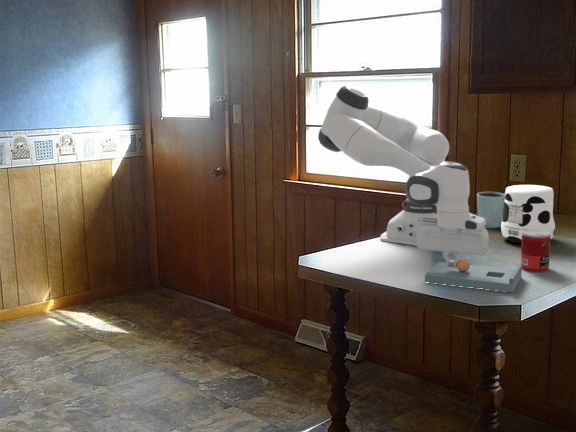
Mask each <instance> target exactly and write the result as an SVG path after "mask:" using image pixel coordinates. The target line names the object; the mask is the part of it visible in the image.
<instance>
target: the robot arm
mask: <svg viewBox="0 0 576 432" xmlns="http://www.w3.org/2000/svg"><path fill="white" fill-rule="evenodd" d="M335 95H336V96H335V97H334V99H333V100H332V102H331V104H330V105H329V107H328V109H327V111H326V114H325V116H324V117H325V118H324V120H323V122H322V125H321V127H320V129H319V132H318V134H317V135H318V136H317V137H318V141H319V143H320V145H321V146H322V147H324V148H325V149H327V150H328V151H331V152H333V153H334V152H335V153H339V152H343V154H345V155H346V156H348V157H349V158H350V159H351V160H353V161H354V162H357V163H358V164H360V165H363V166H366V167H389V168H393V169H394V168H395V169H397V170H399V171H401V172H403V173H405V175H407V176H408V179H407V181H406V182H405V185H404V191H405V195H406V199H405V200H404V201H403V202H402V206H401V207H403V208H402V210H401V211H399V212H398V213H397V214H396V215H394V216H393V217H392V218H391V219H390V220H389V221H388V223H387V228H386V231H384V232H383V233H381V234H380V241H383V242H388V243H394V244H395V243H396V244H403V245H408V246H409V245H410V246H416V247H417V249H419V250H423V251H424V250H425V251H432V252H433V251H435V252H442V256H443V258H444V260H445V262H446V266H447V267H455V268H456V267H457V263H458V261H459V259H460V258H461V257H462V254H467V255H478V256H485V255H487V253H489V251H490V238H489V237H490V236H489V232H488V230H487V229H488V228H485V227H484V226H485V224H486V220H485V219H484V218H482V217H479V216H478V215H476V214H474V213H471V212H470V206H469V198H470V197H469V196H470V175H469V174H470V173H469V170H468V168H467V166H465V165H464V164H462V163H459V162H457V161H448V160H447V161H446V158H447V156H448V154H449V152H450V143H449V141H448V139H447V137H446V136H445V135H444V134H443V133H442V132H440V131H438V130H436V129H431V128H428V127H425V126H422V125H419V124H418V123H415V122H413V121H411V120H408V119H406V118H404V117H403V116H401V115H397V114H396V113H393V112H391V111H389V110H385V109H383V108H381V107H378V106H377V105H372V104H369V97H368V94H367V93H365V91H364V90H362V89H361V88H360V87H357V86H355V85H349V84H347V85H343V86H341V87H340V88H339V90H338V91H337V93H336V94H335ZM450 253H454V257H455V258H454V259H450V256H449V254H450Z"/></svg>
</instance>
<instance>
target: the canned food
mask: <svg viewBox="0 0 576 432" xmlns="http://www.w3.org/2000/svg"><path fill="white" fill-rule="evenodd" d="M520 245H521V250H520V251H521V252H520V254H521V255H520V265H522V270H525V271H528V272H532V273H533V272H534V273H542V272H546V271H548V270H549V267H550V255H551V254H550V252H551V240H550V232H547V231H544V230H525V231H523V232H522V243H521V244H520Z"/></svg>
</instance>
